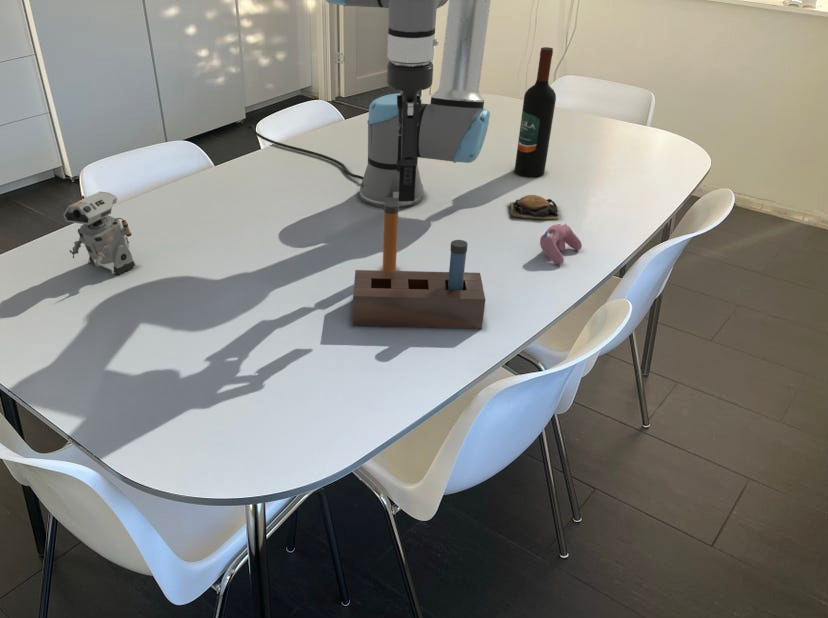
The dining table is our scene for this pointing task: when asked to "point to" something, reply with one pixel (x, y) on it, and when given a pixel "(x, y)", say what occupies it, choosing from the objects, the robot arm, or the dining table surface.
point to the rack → (417, 300)
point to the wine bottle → (536, 122)
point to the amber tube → (390, 235)
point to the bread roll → (534, 208)
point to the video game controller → (558, 242)
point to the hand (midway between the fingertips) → (405, 185)
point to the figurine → (101, 231)
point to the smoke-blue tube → (457, 264)
